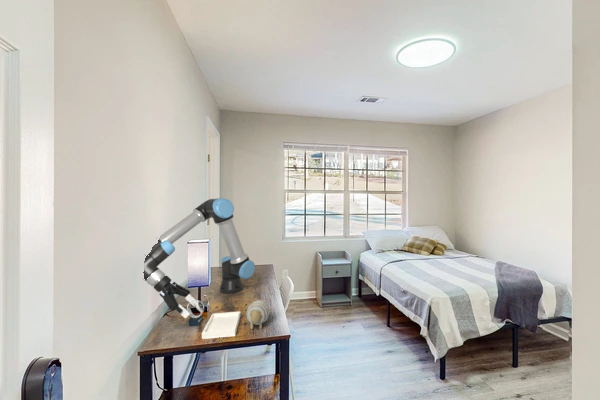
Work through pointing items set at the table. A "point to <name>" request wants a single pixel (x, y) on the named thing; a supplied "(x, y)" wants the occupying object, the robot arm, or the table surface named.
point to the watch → (195, 319)
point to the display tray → (221, 325)
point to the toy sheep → (257, 313)
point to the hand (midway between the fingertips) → (192, 309)
